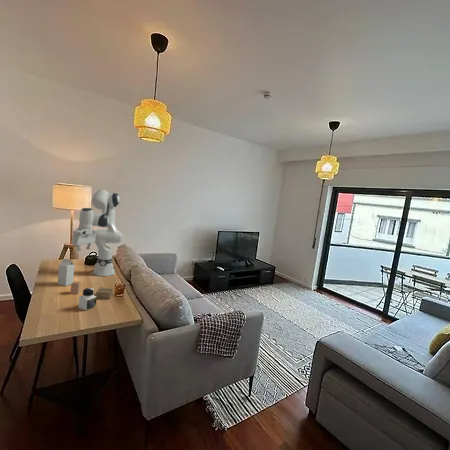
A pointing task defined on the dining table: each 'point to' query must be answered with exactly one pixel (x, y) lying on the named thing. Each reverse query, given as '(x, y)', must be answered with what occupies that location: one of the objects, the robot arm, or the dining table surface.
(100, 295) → the tan square block
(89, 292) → the medicine bottle
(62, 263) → the milk carton
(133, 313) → the dining table surface
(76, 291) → the pink block
